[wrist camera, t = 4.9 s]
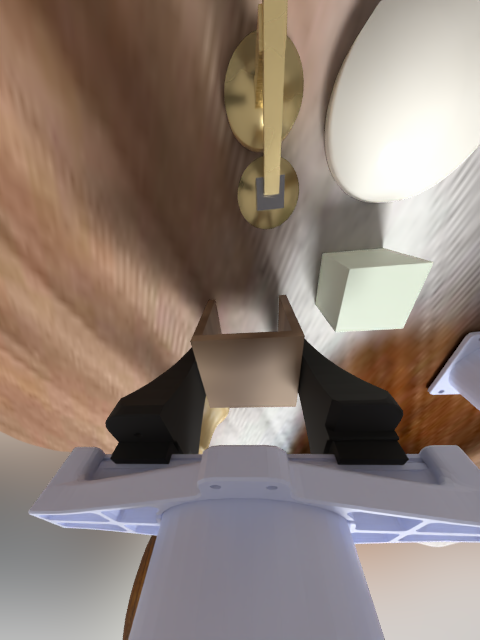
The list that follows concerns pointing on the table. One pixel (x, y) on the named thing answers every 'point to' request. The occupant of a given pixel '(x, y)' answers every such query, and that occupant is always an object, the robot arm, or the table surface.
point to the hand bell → (208, 426)
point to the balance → (265, 114)
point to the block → (369, 288)
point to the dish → (406, 100)
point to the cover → (249, 361)
